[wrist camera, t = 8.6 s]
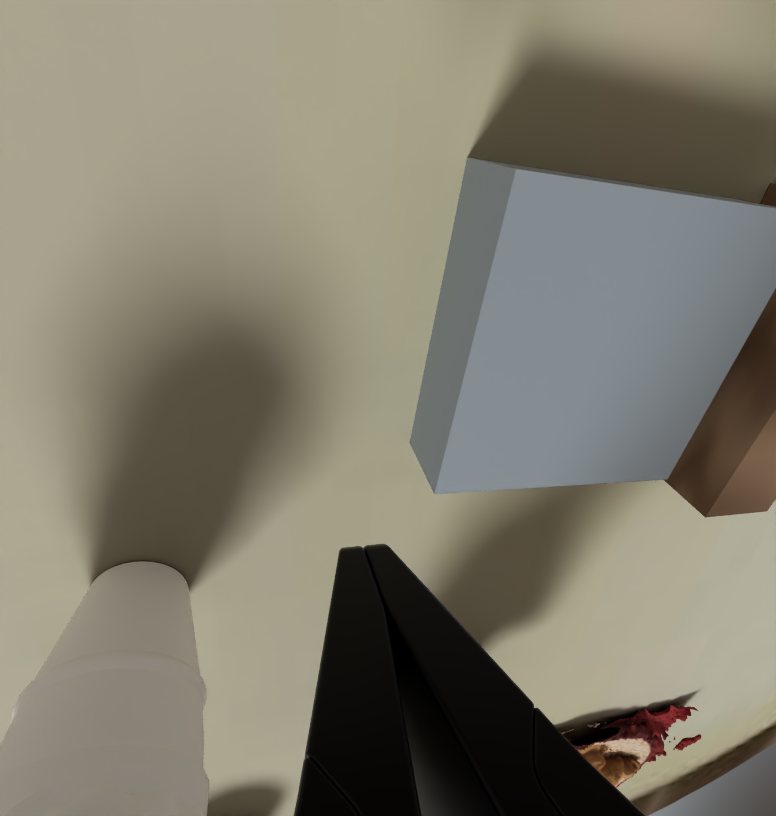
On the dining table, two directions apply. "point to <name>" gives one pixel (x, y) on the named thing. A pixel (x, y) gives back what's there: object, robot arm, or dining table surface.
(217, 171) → the dining table surface
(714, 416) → the walnut bench dog
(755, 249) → the blue-grey square block
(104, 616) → the soft serve ice cream cone
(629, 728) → the plate with food
